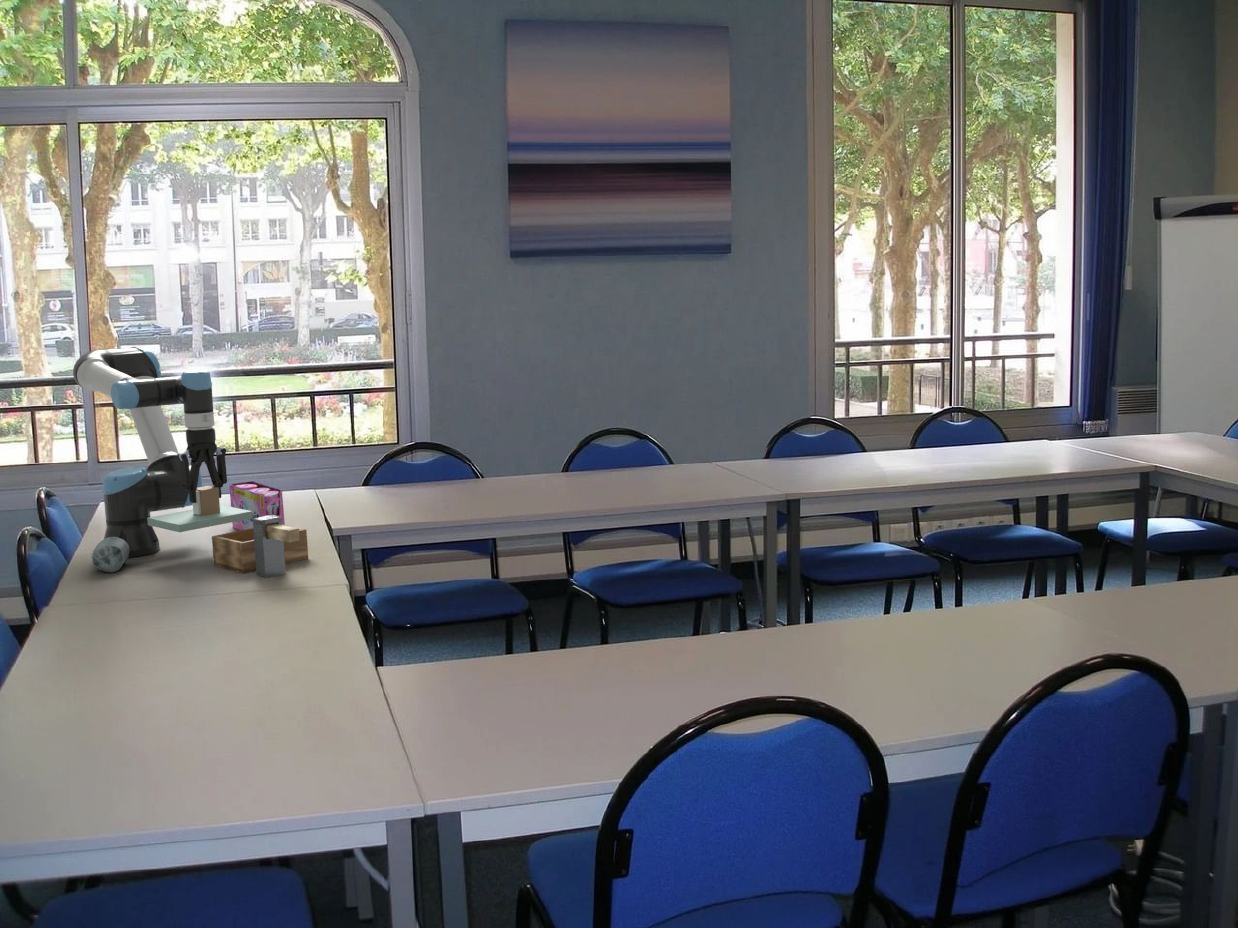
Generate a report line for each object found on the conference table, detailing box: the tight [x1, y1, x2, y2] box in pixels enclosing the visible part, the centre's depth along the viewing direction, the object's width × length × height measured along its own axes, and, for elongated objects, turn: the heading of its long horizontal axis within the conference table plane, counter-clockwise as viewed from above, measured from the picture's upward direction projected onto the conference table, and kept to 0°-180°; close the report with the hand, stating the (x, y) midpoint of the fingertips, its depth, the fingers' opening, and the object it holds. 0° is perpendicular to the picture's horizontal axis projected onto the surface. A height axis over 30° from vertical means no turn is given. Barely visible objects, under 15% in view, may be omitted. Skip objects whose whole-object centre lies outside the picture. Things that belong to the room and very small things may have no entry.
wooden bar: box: [265, 523, 300, 542], centre depth 314 cm, size 15×3×3 cm, turn 50°
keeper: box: [253, 515, 286, 579], centre depth 317 cm, size 4×6×15 cm, turn 140°
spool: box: [91, 537, 130, 573], centre depth 328 cm, size 14×10×10 cm
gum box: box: [229, 480, 286, 531], centre depth 369 cm, size 24×8×14 cm, turn 38°
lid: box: [147, 485, 253, 533], centre depth 335 cm, size 16×22×9 cm
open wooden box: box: [211, 524, 309, 574], centre depth 332 cm, size 14×20×8 cm
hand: (206, 512), depth 337 cm, fingers closed on lid, 5 cm apart
